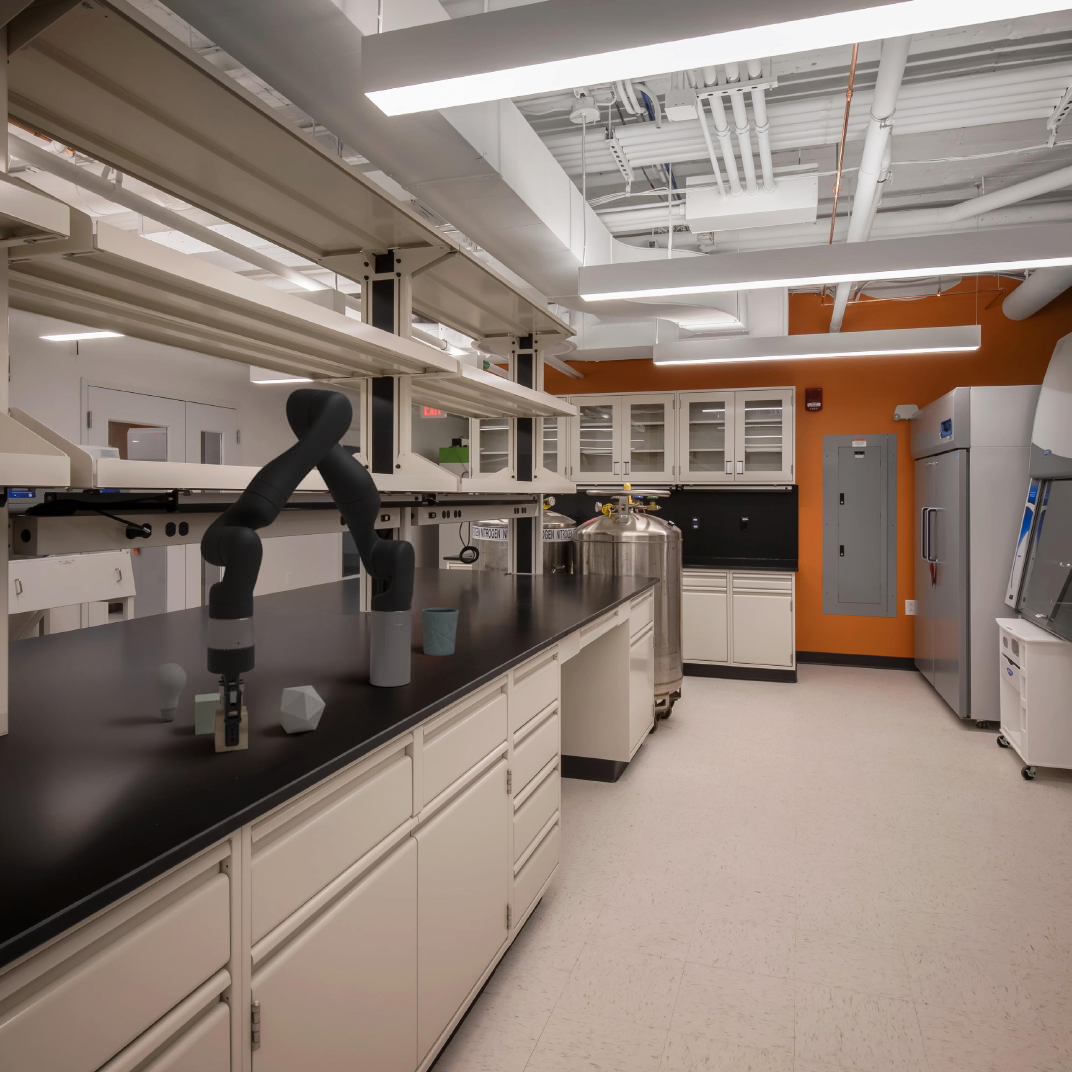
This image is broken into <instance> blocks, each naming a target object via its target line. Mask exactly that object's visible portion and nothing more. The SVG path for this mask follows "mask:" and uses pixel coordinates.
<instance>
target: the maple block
mask: <svg viewBox="0 0 1072 1072" xmlns="http://www.w3.org/2000/svg"><path fill="white" fill-rule="evenodd" d="M248 713H249V712H248V710H247V707H246V705H245V706H244V705H243V708H242V709H241V718H242V721H241V723H240V724H239V744H238V745H237V746H231V747H226V746H225V725H224V723H223V720H224V711H222V710H221V709H215V733H214V749H215V753H222V752H230V751H239V750H247V749H249V747H248V745H249V743H248V742H249V714H248ZM230 716H237V711H233V712H229V713H228V717H230Z"/></svg>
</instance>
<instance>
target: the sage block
mask: <svg viewBox="0 0 1072 1072" xmlns="http://www.w3.org/2000/svg"><path fill="white" fill-rule="evenodd" d="M215 709H221V704H220V694H219V692H216V693H215V692H214V693H213V692H212V693H202V694H195V695H194V730H195V731H194V732H195V733H194V734H195V736H196V735H205V734H207V735H208V734H215Z"/></svg>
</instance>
